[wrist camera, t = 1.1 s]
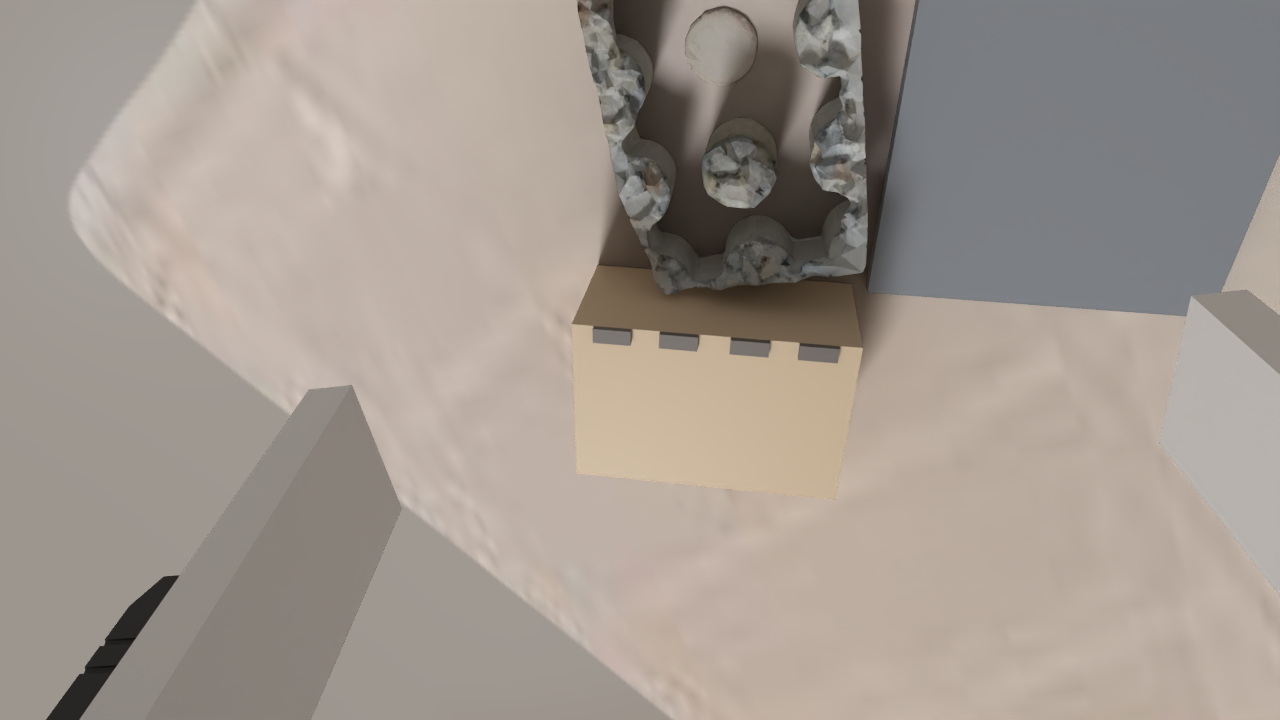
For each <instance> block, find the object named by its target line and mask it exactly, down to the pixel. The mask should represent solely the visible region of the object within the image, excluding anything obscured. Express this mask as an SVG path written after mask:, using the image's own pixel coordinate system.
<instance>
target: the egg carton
mask: <svg viewBox="0 0 1280 720" xmlns="http://www.w3.org/2000/svg"><path fill="white" fill-rule="evenodd" d="M613 1H614V0H577V2H578V14H579V18H580V23H581V28H582V30H583V35H584V40H585V47H586V53H587V56H588V61H589V65H590V69H591V72H592V76H593V81H594V83H595V85H596V86H597V91H598V96H599V101H600V106H601V112H602V118H603V124H604V130H605V135H606V137H607V139H608V141H609V147H610V153H611V158H612V163H613V167H614V172H615V177H616V182H617V187H618V192H619V196H620V198H621V200H622V203H623V205H624V207H625V210H626V212H627V214H628V217H629V219H630V221H631V224H632V226H633V228H634V230H635V232H636V233H637V235H638V238H639V240H640V243H641V245H642V247H643V249H644V251H645V253H646V255H647V256H648V258H649V260H650V263H651V266H652V271H653V275H654V278H655V281H656V283H657V286H658V287H659V289H660V290H661V292H662V293H664V294H666V295H668V294H674V293H678V292H679V291H681V290H683V289H688V288H697V287H708V288H710V289H711V290H723V289H726V288H729V287H732V286H738V285H755V286H759V285H763V284H769V283H789V282H790V283H796V282H798V281H800V280H803V279H806V278H808V277H811V276H826V277H832V276H843V275H850V274H857V273H863V271H864V268H865V266H866V254H867V232H868V210H867V186H866V178H867V175H866V153H865V114H864V105H863V76H862V61H861V27H860V16H859V4H858V0H800V2H799V4H798V5H797V8H796V11H795V15H794V21H793V29H794V41H795V46H796V50H797V53H798V55H799V57H800V61H801V62H800V65H801V66H802V67H803V68H806V69H807V70H808V71H810V72H811V73H813V74H814V75H815V76H817V77H820V78H826V77H836V76H840V81H841V90H840V92H839V97H838V98H835V99H833V100H831V101H829V102H828V103H826V104H825V105H824V106H823V107H822V108H821V109H820V110H819V111H818V112H817V113H816V115H815V116H814V118H813V120H812V122H811V124H810V130H809V131H810V133H809V139H810V150H811V156H810V163H809V165H810V167H811V170H812V173H813V176H814V178H815V180H816V181H817V182H818V184H819V185H820V186H821V188H822V189H823V190H826V191H831V192H838V193H839V194H841V195H843V196H845V197H847V198H848V200H846V201H844V202H842V203H840V204H838V205H837V206H836V207H834V208H833V209H832V210H831V211H830V212H829V214H828V216H827V217H826V219H825V222H824V225H823V229H822V234H821V235H820V236H818V237H815V238H814V237H811V238H805V239H795V238H794V237H791V236H790V234H788V232H787V230H786V229H785V228H784V226H782V225H781V224H780V223H779V222H778V221H776V220H774V219H772V218H770V217H768V216H762V215H754V216H748V217H746V218H744V219H742V220H740V221H739V222H738V223H737V224H735V225H734V226H733V227H732V228H731V230H730V232H729V234H728V236H727V239H726V246H725V252H724V253H722V254H717V255H711V256H705V257H698V256H697V254H696V253H695V252H694V250H693V249H692V247H691V246H690V244H689V243H688V242H687V241H686V240H685V239H683V238H682V237H681V236H678V235H676V234H673V233H666V232H661V231H660V230H659V228H658V226H657V224H656V222H658V221H659V220H660V219H661V218H662V217H663V216H664V215H665V213H666V210H667V208H668V206H669V202H670V199H671V196H672V193H673V189H674V185H675V181H676V167H675V163H674V161H673V158H672V157H671V155H670V154H669V152H668V151H667V150H666V149H665V148H664V147H663V146H662V145H660V144H658V143H656V142H653V141H651V140H646V139H641V138H640V136H639V133H638V130H637V128H636V126H635V122H636V119H637V116H638V113H639V109H640V108H641V107H642V105H643V103H644V100H645V98H646V96H647V94H648V92H649V90H650V87H651V83H652V79H653V65H652V62H651V60H650V57H649V55H648V54H647V52H646V50H645V49H644V47H643V46H642V45H641V44H640V43H639V42H638V41H637V40H635V39H633V38H630V37H628V36H626V35H623V34H616V32H615V26H614V21H613ZM756 51H757V36H756V33H755V30H754V28H753V27H752V25H751V23H750V22H749V21H748V20H747V19H746V18H745V17H744V16H743V15H741V14H740V13H738V12H736V11H734V10H732V9H729V8H716V9H712V10H710V11H707V12H705V13H703V14H702V15H701V17H700V18H698V19H697V20H696V21H695V22H694V23H693V24H692V25H691V26H690V30H689V32H688V34H687V36H686V39H685V55H686V57H687V59H688V64H689V65H690V66H691V70H692V71H693V72H694V73H695V74H696V75H697V76H698V77H699V78H700V79H702V80H704V81H705V82H707V83H710V84H714V85H728V84H731V83H733V82H736V81H738V80H739V79H740V78H742V77H743V76H744V75H745V74H746V73H747V72H749V70H750V68H751V66H752V64H753V63H754V61H755V56H756ZM702 177H703V184H704V187H705V189H706V191H707V194H708V195H709V196H711V197H712V198H713V199H715V200H716V201H718V202H719V203H721V204H723V205H725V206H727V207H735V208H755V207H756V206H757V205H758V204H759V203H760V202H761V201H762V200H763V199H764V198H765V197H767V196H768V195H769V194H771V191H772V189H773V186H774V184H775V182H776V179H777V177H778V167H777V152H776V144H775V140H774V139H773V137H772V135H771V134H770V132H769V131H768V130H767V129H766V128H765V127H763V126H762V125H761V124H759V123H757V122H756V121H754V120H753V119H749V118H736V119H732V120H729V121H727V122H725V123H723V124H722V125H720V126H718V127H717V128H716V130H715V131H714V132H713V134H712V135H711V137H710V140H709V142H708V145H707V148H706V152H705V154H704V156H703V159H702Z"/></svg>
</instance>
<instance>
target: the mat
mask: <svg viewBox="0 0 1280 720" xmlns="http://www.w3.org/2000/svg"><path fill="white" fill-rule="evenodd" d="M1279 154H1280V0H916V2H915V8H914V13H913V19H912V25H911V31H910V36H909V42H908V48H907V53H906V59H905V65H904V70H903V76H902V82H901V88H900V93H899V99H898V105H897V110H896V116H895V122H894V127H893V133H892V139H891V145H890V150H889V156H888V162H887V167H886V173H885V179H884V184H883V190H882V196H881V202H880V207H879V213H878V219H877V224H876V230H875V236H874V241H873V247H872V253H871V259H870V264H869V270H868V276H867V281H866V288H867V292H868V293H881V294H895V295H908V296H922V297H935V298H948V299H962V300H975V301H989V302H1002V303H1015V304H1029V305H1042V306H1056V307H1069V308H1082V309H1096V310H1109V311H1123V312H1136V313H1149V314H1163V315H1176V316H1187V312H1188V308H1189V303H1190V299H1191V296H1193V295H1202V294H1212V293H1221V291H1222V288H1223V286H1224V284H1225V281H1226V279H1227V277H1228V274H1229V272H1230V270H1231V267H1232V265H1233V263H1234V260H1235V258H1236V255H1237V253H1238V251H1239V248H1240V246H1241V244H1242V241H1243V239H1244V237H1245V234H1246V232H1247V230H1248V227H1249V225H1250V223H1251V220H1252V218H1253V216H1254V213H1255V211H1256V208H1257V206H1258V204H1259V201H1260V199H1261V197H1262V194H1263V192H1264V190H1265V187H1266V185H1267V183H1268V180H1269V178H1270V176H1271V173H1272V171H1273V168H1274V166H1275V164H1276V161H1277V159H1278V157H1279Z"/></svg>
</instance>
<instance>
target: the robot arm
mask: <svg viewBox="0 0 1280 720" xmlns="http://www.w3.org/2000/svg"><path fill="white" fill-rule="evenodd" d="M1159 444H1160V445H1161V447H1162V448H1163V449H1164V450H1165V452H1166V453H1167V454H1168V455H1169V457H1170V458H1171V459H1172V460H1173V462H1174V463H1175V464H1176V466H1177V467H1178V468H1179V469H1180V471H1181V472H1182V473H1183V474H1184V476H1185V477H1186V478H1187V479H1188V481H1189V482H1190V483H1191V485H1192V486H1193V487H1194V488H1195V490H1196V491H1197V492H1198V493H1199V495H1200V496H1201V497H1202V498H1203V500H1204V501H1205V502H1206V504H1207V505H1208V506H1209V507H1210V509H1211V510H1212V511H1213V512H1214V514H1215V515H1216V516H1217V517H1218V519H1219V520H1220V521H1221V523H1222V524H1223V525H1224V526H1225V528H1226V529H1227V530H1228V531H1229V533H1230V534H1231V535H1232V536H1233V538H1234V539H1235V540H1236V541H1237V543H1238V544H1239V545H1240V547H1241V548H1242V549H1243V550H1244V552H1245V553H1246V554H1247V555H1248V557H1249V558H1250V559H1251V560H1252V562H1253V563H1254V564H1255V566H1256V567H1257V568H1258V569H1259V571H1260V572H1261V573H1262V574H1263V576H1264V577H1265V578H1266V579H1267V581H1268V582H1269V583H1270V585H1271V586H1272V587H1273V588H1274V590H1275V591H1276V592H1277V593H1278V595H1279V596H1280V315H1278V314H1277V313H1276V312H1274V311H1273V310H1272V309H1271V308H1269V307H1268V306H1267V305H1266V304H1264V303H1263V302H1262V301H1261V300H1259V299H1258V298H1257V297H1256V296H1254V295H1253V294H1252V293H1250V292H1249V291H1248V290H1240V291H1231V292H1221V293H1212V294H1202V295H1193V296H1191V299H1190V303H1189V308H1188V312H1187V317H1186V322H1185V326H1184V331H1183V335H1182V340H1181V344H1180V349H1179V353H1178V358H1177V362H1176V367H1175V372H1174V376H1173V381H1172V385H1171V390H1170V394H1169V399H1168V403H1167V408H1166V413H1165V417H1164V422H1163V426H1162V431H1161V435H1160V440H1159ZM401 509H402V508H401V505H400V503H399V500H398V498H397V495H396V493H395V490H394V488H393V485H392V483H391V480H390V478H389V475H388V473H387V471H386V468H385V466H384V463H383V461H382V458H381V456H380V453H379V451H378V448H377V446H376V443H375V441H374V438H373V436H372V433H371V431H370V428H369V426H368V424H367V421H366V419H365V416H364V414H363V411H362V409H361V406H360V404H359V401H358V399H357V396H356V394H355V391H354V389H353V386H352V385H348V386H339V387H330V388H320V389H311V390H308V392H307V393H306V395H305V396H304V398H303V399H302V400H301V402H300V403H299V405H298V406H297V408H296V409H295V411H294V412H293V413H292V415H291V416H290V418H289V419H288V421H287V422H286V424H285V425H284V426H283V428H282V429H281V431H280V432H279V434H278V435H277V436H276V438H275V439H274V441H273V442H272V444H271V445H270V446H269V448H268V449H267V451H266V452H265V454H264V455H263V457H262V458H261V459H260V461H259V462H258V464H257V465H256V467H255V468H254V469H253V471H252V472H251V474H250V475H249V477H248V478H247V480H246V481H245V482H244V484H243V485H242V487H241V488H240V490H239V491H238V492H237V494H236V495H235V497H234V498H233V500H232V501H231V503H230V504H229V505H228V507H227V508H226V510H225V511H224V513H223V514H222V516H221V517H220V518H219V520H218V521H217V523H216V524H215V526H214V527H213V528H212V530H211V531H210V533H209V534H208V536H207V537H206V538H205V540H204V541H203V543H202V544H201V546H200V547H199V548H198V550H197V551H196V553H195V554H194V556H193V557H192V559H191V560H190V561H189V563H188V564H187V566H186V567H185V569H184V570H183V571H182V573H181V574H180V575H179V576H166V577H163V578H162V579H161V580H159V581H158V582H157V583H156V584H155V585H154V586H152V587H151V588H150V589H149V590H148V591H147V592H146V593H144V594H143V595H142V596H141V597H140V598H138V599H137V600H136V601H135V602H134V603H133V604H131V605H130V606H129V608H128V609H127V610H126V612H125V613H124V614H123V616H122V617H121V618H120V620H119V621H118V622H117V624H116V625H115V627H114V628H113V629H112V631H111V632H110V633H109V635H108V636H107V637H106V639H105V645H104V646H100V647H99V648H98V650H97V651H96V652H95V654H94V655H93V657H92V658H91V659H90V661H89V662H88V663H87V665H86V666H85V673H84V674H79V676H78V677H77V678H76V680H75V681H74V682H73V684H72V685H71V686H70V688H69V689H68V691H67V692H66V693H65V695H64V696H63V697H62V699H61V700H60V701H59V703H58V704H57V706H56V707H55V708H54V710H53V711H52V713H51V714H50V715H49V716H48V718H47V719H46V720H311V718H312V716H313V714H314V711H315V709H316V707H317V705H318V702H319V700H320V697H321V695H322V693H323V691H324V688H325V686H326V684H327V681H328V679H329V677H330V674H331V672H332V669H333V667H334V665H335V663H336V660H337V658H338V656H339V653H340V651H341V649H342V646H343V644H344V642H345V639H346V637H347V635H348V632H349V630H350V628H351V626H352V623H353V621H354V619H355V616H356V614H357V612H358V609H359V607H360V605H361V602H362V600H363V598H364V595H365V593H366V591H367V588H368V586H369V584H370V581H371V579H372V577H373V574H374V572H375V570H376V568H377V565H378V563H379V561H380V558H381V556H382V553H383V551H384V549H385V546H386V544H387V542H388V540H389V537H390V535H391V533H392V530H393V528H394V526H395V523H396V521H397V519H398V516H399V514H400V512H401Z"/></svg>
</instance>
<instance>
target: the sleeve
mask: <svg viewBox="0 0 1280 720" xmlns="http://www.w3.org/2000/svg"><path fill="white" fill-rule="evenodd" d="M572 346H573V379H574V411H575V444H576V473H578V474H588V475H597V476H607V477H617V478H627V479H636V480H646V481H656V482H666V483H676V484H685V485H695V486H705V487H715V488H724V489H734V490H744V491H754V492H764V493H773V494H783V495H793V496H803V497H813V498H822V499H832V500H836V495H837V489H838V484H839V478H840V473H841V467H842V462H843V456H844V451H845V445H846V440H847V434H848V429H849V423H850V418H851V412H852V407H853V401H854V395H855V390H856V384H857V379H858V373H859V368H860V362H861V357H862V351H863V345H862V339H861V334H860V328H859V323H858V318H857V312H856V307H855V301H854V296H853V290H852V285H851V284H847V283H834V282H820V281H806V280H800V281H798V282H796V283H790V282H789V283H769V284H763V285H759V286H755V285H738V286H732V287H729V288H726V289H723V290H711V289H710V288H708V287H697V288H688V289H683V290H681V291H679V292H678V293H674V294H668V295H666V294H664V293H662V292H661V290H660V289H659V287H658V286H657V283H656V281H655V278H654V275H653V271H652V269H643V268H630V267H616V266H603V265H598V266H597V268H596V270H595V273H594V275H593V277H592V279H591V282H590V284H589V286H588V289H587V291H586V293H585V295H584V298H583V300H582V302H581V304H580V307H579V309H578V311H577V314H576V316H575V318H574V320H573V323H572Z"/></svg>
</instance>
